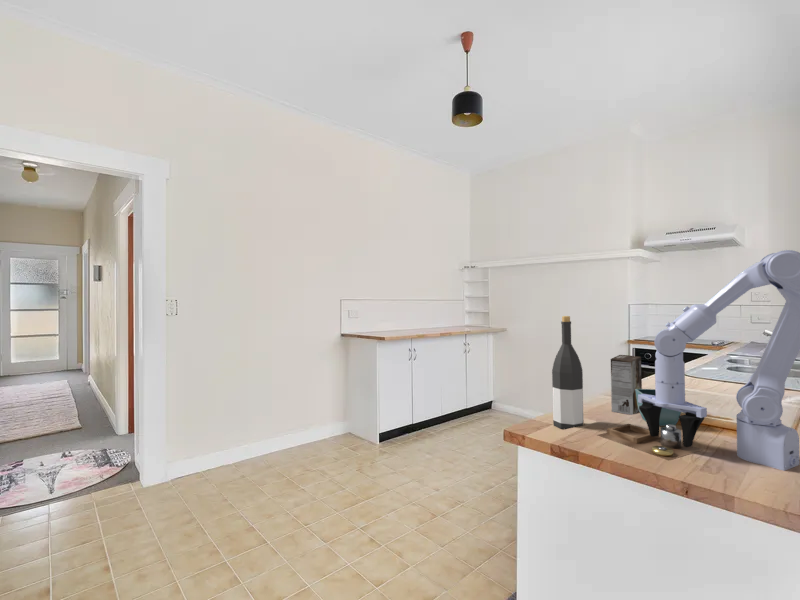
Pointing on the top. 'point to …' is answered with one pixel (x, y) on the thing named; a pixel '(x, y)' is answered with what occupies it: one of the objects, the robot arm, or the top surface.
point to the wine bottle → (567, 383)
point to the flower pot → (666, 414)
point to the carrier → (643, 440)
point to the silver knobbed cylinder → (671, 437)
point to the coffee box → (625, 383)
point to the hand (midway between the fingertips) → (670, 440)
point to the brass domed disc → (662, 451)
